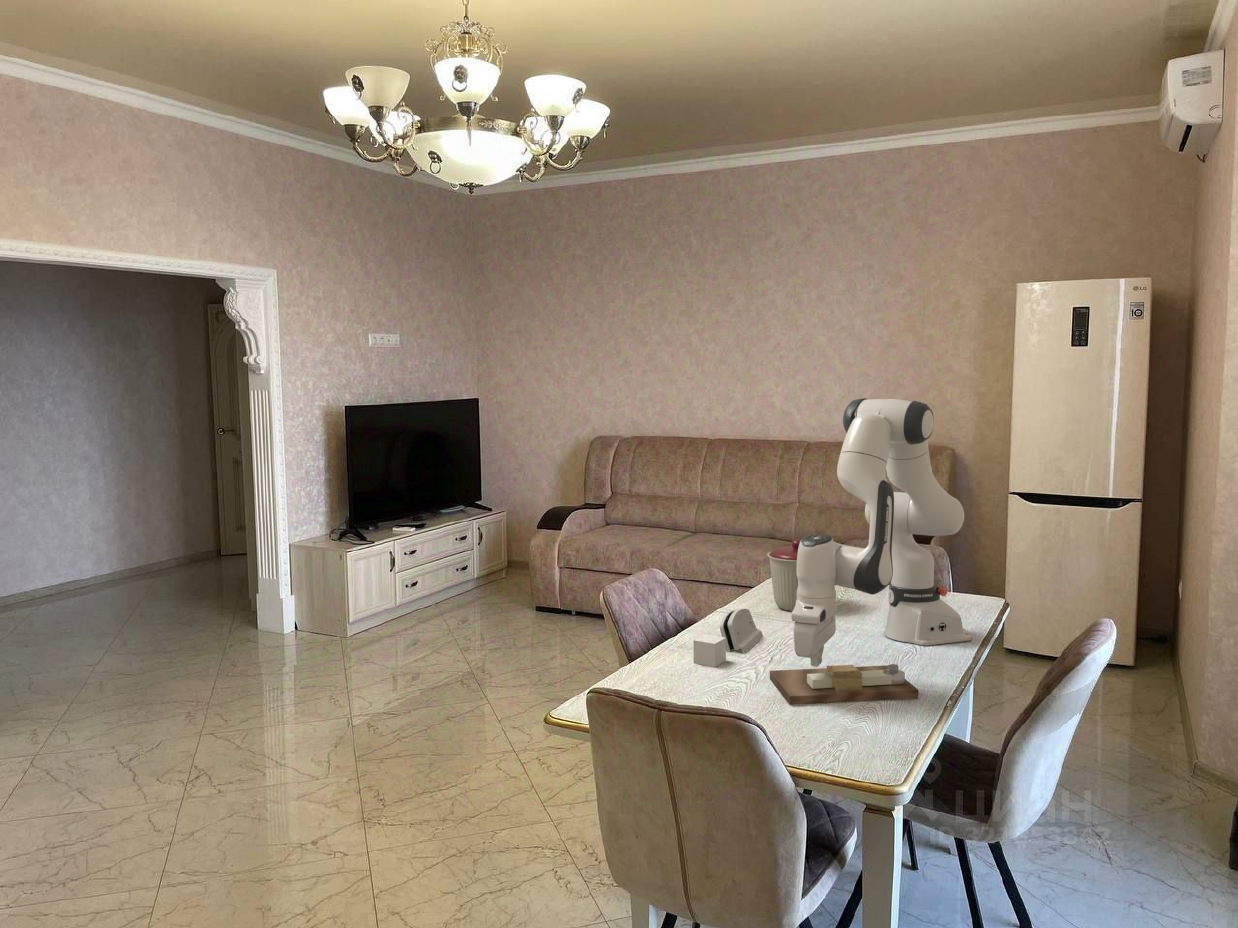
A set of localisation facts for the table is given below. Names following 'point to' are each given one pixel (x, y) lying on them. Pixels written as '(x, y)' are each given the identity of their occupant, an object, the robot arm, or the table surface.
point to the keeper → (845, 678)
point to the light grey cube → (709, 650)
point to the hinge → (739, 630)
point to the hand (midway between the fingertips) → (816, 664)
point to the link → (868, 678)
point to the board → (801, 692)
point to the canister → (785, 575)
